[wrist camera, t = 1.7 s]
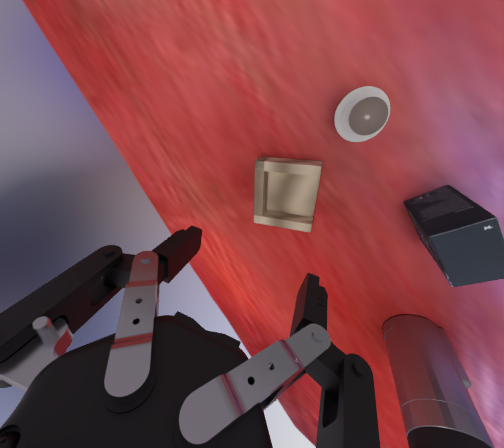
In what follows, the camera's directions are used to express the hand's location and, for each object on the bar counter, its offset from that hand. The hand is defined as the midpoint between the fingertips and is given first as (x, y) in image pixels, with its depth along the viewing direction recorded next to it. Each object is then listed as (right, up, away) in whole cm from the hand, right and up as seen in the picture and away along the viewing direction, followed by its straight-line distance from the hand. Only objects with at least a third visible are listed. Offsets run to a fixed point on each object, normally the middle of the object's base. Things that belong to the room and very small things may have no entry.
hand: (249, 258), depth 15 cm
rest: (+6, +8, +22) cm, 24 cm away
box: (+27, +4, +16) cm, 32 cm away
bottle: (+14, +18, +14) cm, 26 cm away
